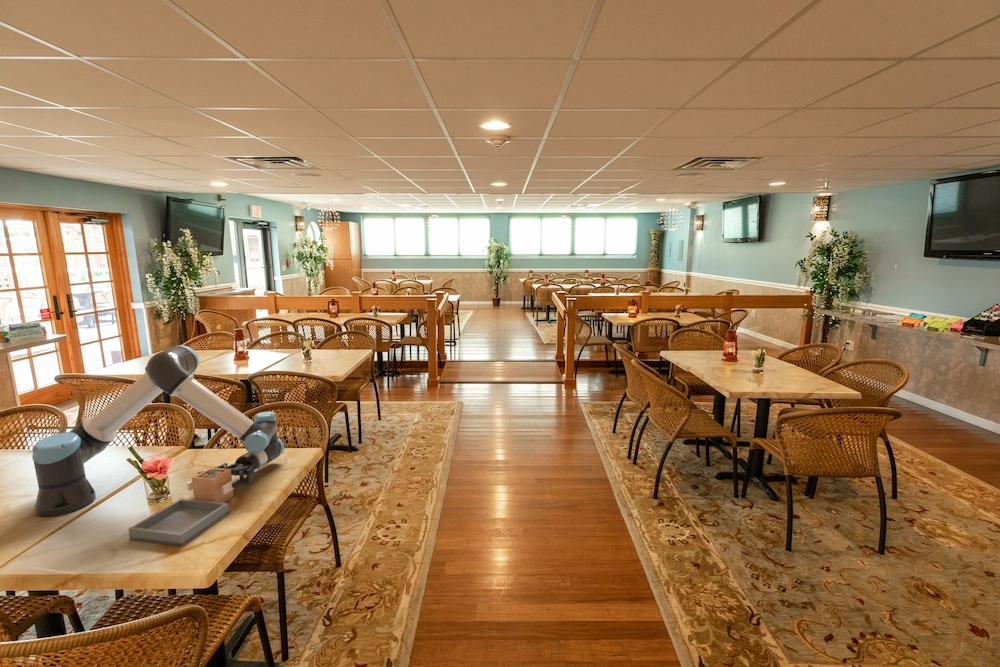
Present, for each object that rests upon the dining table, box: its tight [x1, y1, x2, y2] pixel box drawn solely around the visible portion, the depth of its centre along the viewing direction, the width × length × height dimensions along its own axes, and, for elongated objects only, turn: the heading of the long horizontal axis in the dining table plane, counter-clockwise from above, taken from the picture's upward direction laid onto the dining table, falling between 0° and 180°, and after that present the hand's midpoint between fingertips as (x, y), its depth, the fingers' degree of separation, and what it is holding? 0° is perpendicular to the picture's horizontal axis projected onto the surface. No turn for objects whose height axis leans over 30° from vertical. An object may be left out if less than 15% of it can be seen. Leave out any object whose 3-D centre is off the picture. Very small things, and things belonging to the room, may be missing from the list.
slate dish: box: [128, 497, 230, 547], centre depth 145 cm, size 18×18×4 cm
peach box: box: [191, 467, 234, 503], centre depth 160 cm, size 8×8×11 cm
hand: (205, 488), depth 157 cm, fingers open, 13 cm apart
